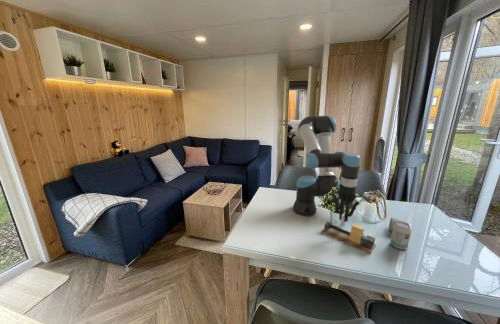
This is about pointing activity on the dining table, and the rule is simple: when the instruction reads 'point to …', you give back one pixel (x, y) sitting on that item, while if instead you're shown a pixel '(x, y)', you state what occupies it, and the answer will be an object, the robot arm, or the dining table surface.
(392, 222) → the ceramic mug
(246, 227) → the dining table surface
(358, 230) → the sleeve
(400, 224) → the beverage can
